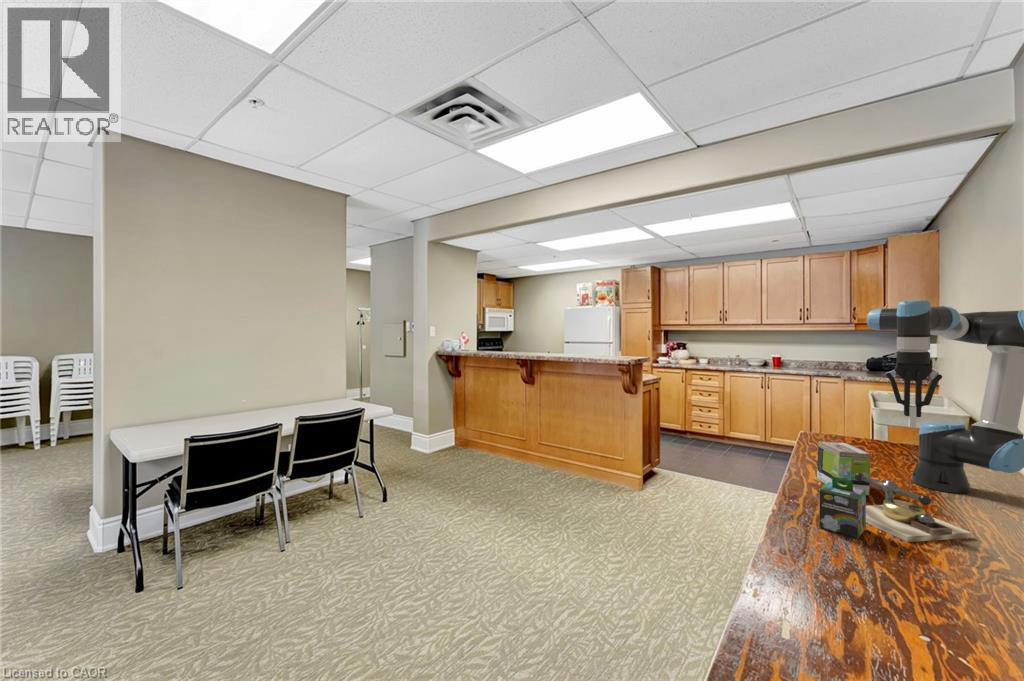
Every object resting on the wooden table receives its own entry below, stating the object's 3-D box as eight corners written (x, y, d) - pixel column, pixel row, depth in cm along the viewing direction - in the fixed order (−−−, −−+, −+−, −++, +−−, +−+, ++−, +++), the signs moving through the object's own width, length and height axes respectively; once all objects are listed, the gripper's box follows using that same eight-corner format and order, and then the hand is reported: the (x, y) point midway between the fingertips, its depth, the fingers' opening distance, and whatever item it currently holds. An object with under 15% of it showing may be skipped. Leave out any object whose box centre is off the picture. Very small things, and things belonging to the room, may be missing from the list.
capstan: (843, 498, 139) (844, 470, 139) (866, 496, 140) (867, 468, 140) (915, 528, 118) (917, 495, 117) (942, 526, 119) (943, 494, 119)
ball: (924, 523, 121) (925, 511, 121) (938, 529, 117) (938, 516, 117) (913, 524, 120) (914, 511, 120) (927, 530, 117) (927, 517, 117)
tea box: (870, 496, 145) (872, 453, 145) (837, 493, 147) (838, 451, 147) (845, 480, 160) (846, 441, 160) (815, 478, 162) (816, 440, 162)
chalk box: (866, 529, 121) (867, 478, 120) (858, 540, 115) (860, 485, 115) (826, 518, 128) (828, 469, 128) (817, 527, 122) (819, 476, 122)
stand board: (899, 508, 135) (899, 499, 135) (972, 538, 116) (972, 527, 116) (843, 511, 133) (843, 502, 133) (908, 542, 114) (908, 531, 113)
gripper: (940, 350, 129) (940, 427, 130) (884, 349, 137) (883, 422, 138) (945, 352, 123) (944, 432, 124) (885, 351, 132) (885, 426, 132)
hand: (912, 426), depth 131 cm, fingers closed
